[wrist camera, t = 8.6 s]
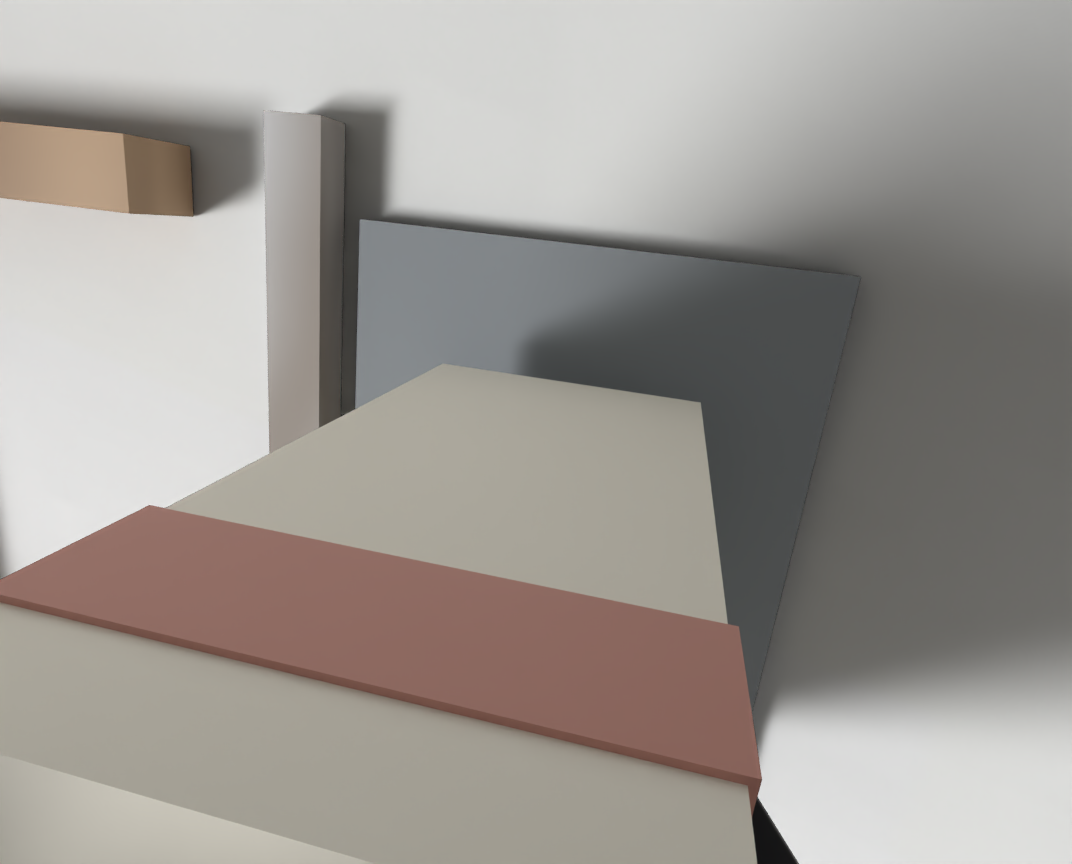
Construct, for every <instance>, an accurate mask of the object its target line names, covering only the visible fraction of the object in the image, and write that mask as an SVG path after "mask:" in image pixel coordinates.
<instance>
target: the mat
mask: <svg viewBox="0 0 1072 864" xmlns="http://www.w3.org/2000/svg"><path fill="white" fill-rule="evenodd" d="M860 279H861V277H859V276H854V275H845V274H836V273H828V272H819V271H810V270H802V269H793V268H784V267H775V266H767V265H758V264H749V263H741V262H732V261H723V260H715V259H706V258H697V257H689V256H680V255H671V254H662V253H654V252H645V251H636V250H628V249H619V248H610V247H602V246H593V245H584V244H575V243H567V242H558V241H549V240H541V239H532V238H523V237H515V236H506V235H497V234H489V233H480V232H471V231H462V230H454V229H445V228H436V227H428V226H419V225H410V224H402V223H393V222H384V221H376V220H365V219H360V228H359V271H358V313H357V356H356V398H355V409H357V408H358V407H360V406H362V405H364V404H366V403H368V402H370V401H372V400H374V399H376V398H378V397H380V396H382V395H383V394H385V393H387V392H389V391H391V390H393V389H395V388H397V387H399V386H401V385H403V384H405V383H407V382H408V381H410V380H412V379H414V378H416V377H418V376H420V375H422V374H424V373H426V372H428V371H430V370H432V369H433V368H435V367H437V366H439V365H441V364H449V365H456V366H462V367H469V368H476V369H482V370H489V371H496V372H502V373H509V374H515V375H522V376H529V377H535V378H542V379H549V380H555V381H562V382H568V383H575V384H582V385H588V386H595V387H602V388H608V389H615V390H621V391H628V392H635V393H641V394H648V395H655V396H661V397H668V398H674V399H681V400H688V401H694V402H701V409H702V417H703V426H704V434H705V442H706V450H707V458H708V466H709V474H710V483H711V491H712V499H713V507H714V515H715V523H716V531H717V540H718V548H719V556H720V564H721V572H722V580H723V588H724V597H725V605H726V613H727V621H728V624H730V625H734V626H739V631H740V637H741V644H742V651H743V657H744V664H745V671H746V677H747V684H748V691H749V697H750V704H751V711H753V707H754V703H755V699H756V695H757V691H758V687H759V683H760V679H761V675H762V671H763V667H764V663H765V659H766V655H767V651H768V647H769V643H770V639H771V635H772V631H773V627H774V623H775V619H776V615H777V611H778V607H779V603H780V599H781V595H782V591H783V587H784V583H785V579H786V575H787V571H788V567H789V563H790V559H791V555H792V551H793V547H794V543H795V539H796V535H797V531H798V527H799V523H800V519H801V515H802V511H803V507H804V503H805V499H806V495H807V491H808V487H809V483H810V479H811V475H812V471H813V467H814V463H815V459H816V455H817V451H818V447H819V443H820V439H821V435H822V431H823V427H824V423H825V419H826V415H827V411H828V407H829V403H830V399H831V395H832V391H833V387H834V383H835V379H836V375H837V371H838V367H839V363H840V359H841V355H842V351H843V347H844V343H845V339H846V335H847V331H848V327H849V323H850V319H851V315H852V311H853V307H854V303H855V299H856V295H857V291H858V287H859V283H860Z"/></svg>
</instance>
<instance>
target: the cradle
mask: <svg viewBox="0 0 1072 864" xmlns="http://www.w3.org/2000/svg"><path fill="white" fill-rule="evenodd" d="M263 117H264V173H265V229H266V284H267V340H268V396H269V451H270V453H272V452H274V451H276V450H278V449H280V448H282V447H283V446H285V445H287V444H289V443H291V442H293V441H295V440H297V439H299V438H301V437H303V436H305V435H307V434H308V433H310V432H312V431H314V430H316V429H318V428H320V427H322V426H324V425H326V424H328V423H330V422H332V421H333V420H335V419H337V418H339V417H340V416H341V355H342V295H343V234H344V173H345V123H342V122H339V121H336V120H333V119H330V118H328V117H325V116H322V115H313V114H302V113H291V112H279V111H268V110H263ZM0 198H7V199H15V200H23V201H31V202H39V203H48V204H56V205H64V206H72V207H81V208H89V209H97V210H105V211H114V212H122V213H132V214H152V215H172V216H192V217H193V198H192V178H191V157H190V146H185V145H180V144H175V143H170V142H164V141H159V140H154V139H149V138H144V137H138V136H133V135H128V134H123V133H113V132H103V131H92V130H82V129H72V128H62V127H51V126H41V125H31V124H21V123H11V122H0Z"/></svg>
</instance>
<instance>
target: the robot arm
mask: <svg viewBox="0 0 1072 864" xmlns="http://www.w3.org/2000/svg"><path fill="white" fill-rule="evenodd" d="M752 825H753V833H754V841H755V849H756V857H757V864H799V863H798V861H797V860H796V858H795V857H794V855H793V853H792V852H791V850H790V849H789V847H788V845H787V844H786V842H785V840H784V839H783V837H782V836H781V834H780V832H779V831H778V829H777V828H776V826H775V824H774V823H773V821H772V820H771V818H770V816H769V815H768V813H767V811H766V810H765V808H764V807H763V805H762V803H761V802H760V800H759V799H758V797H757V800H756V803H755V807H754V811H753V815H752Z"/></svg>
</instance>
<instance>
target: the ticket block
mask: <svg viewBox="0 0 1072 864" xmlns="http://www.w3.org/2000/svg"><path fill="white" fill-rule="evenodd" d="M761 781H762V777H761V770H760V764H759V757H758V751H757V744H756V737H755V731H754V724H753V717H752V711H751V704H750V697H749V691H748V684H747V677H746V671H745V664H744V657H743V651H742V644H741V637H740V631H739V626H734V625H730V624H728V621H727V613H726V605H725V597H724V588H723V580H722V572H721V564H720V556H719V548H718V540H717V531H716V523H715V515H714V507H713V499H712V491H711V483H710V474H709V466H708V458H707V450H706V442H705V434H704V426H703V417H702V409H701V402H694V401H688V400H681V399H674V398H668V397H661V396H655V395H648V394H641V393H635V392H628V391H621V390H615V389H608V388H602V387H595V386H588V385H582V384H575V383H568V382H562V381H555V380H549V379H542V378H535V377H529V376H522V375H515V374H509V373H502V372H496V371H489V370H482V369H476V368H469V367H462V366H456V365H449V364H441V365H439V366H437V367H435V368H433V369H432V370H430V371H428V372H426V373H424V374H422V375H420V376H418V377H416V378H414V379H412V380H410V381H408V382H407V383H405V384H403V385H401V386H399V387H397V388H395V389H393V390H391V391H389V392H387V393H385V394H383V395H382V396H380V397H378V398H376V399H374V400H372V401H370V402H368V403H366V404H364V405H362V406H360V407H358V408H357V409H355V410H353V411H351V412H349V413H347V414H345V415H343V416H341V417H339V418H337V419H335V420H333V421H332V422H330V423H328V424H326V425H324V426H322V427H320V428H318V429H316V430H314V431H312V432H310V433H308V434H307V435H305V436H303V437H301V438H299V439H297V440H295V441H293V442H291V443H289V444H287V445H285V446H283V447H282V448H280V449H278V450H276V451H274V452H272V453H270V454H268V455H266V456H264V457H262V458H260V459H258V460H257V461H255V462H253V463H251V464H249V465H247V466H245V467H243V468H241V469H239V470H237V471H235V472H233V473H232V474H230V475H228V476H226V477H224V478H222V479H220V480H218V481H216V482H214V483H212V484H210V485H208V486H207V487H205V488H203V489H201V490H199V491H197V492H195V493H193V494H191V495H189V496H187V497H185V498H183V499H182V500H180V501H178V502H176V503H174V504H172V505H170V506H168V507H166V508H161V507H156V506H151V505H149V506H147V507H145V508H143V509H141V510H139V511H137V512H135V513H133V514H131V515H129V516H127V517H125V518H123V519H121V520H119V521H117V522H115V523H113V524H111V525H109V526H107V527H105V528H103V529H101V530H99V531H97V532H95V533H93V534H91V535H89V536H86V537H84V538H82V539H80V540H78V541H76V542H74V543H72V544H70V545H68V546H66V547H64V548H62V549H60V550H58V551H56V552H54V553H52V554H50V555H48V556H46V557H44V558H42V559H40V560H38V561H36V562H34V563H32V564H30V565H28V566H26V567H24V568H22V569H20V570H18V571H16V572H14V573H12V574H10V575H8V576H6V577H4V578H2V579H0V864H757V857H756V849H755V841H754V833H753V825H752V815H753V811H754V807H755V803H756V800H757V796H758V792H759V788H760V785H761Z"/></svg>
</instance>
